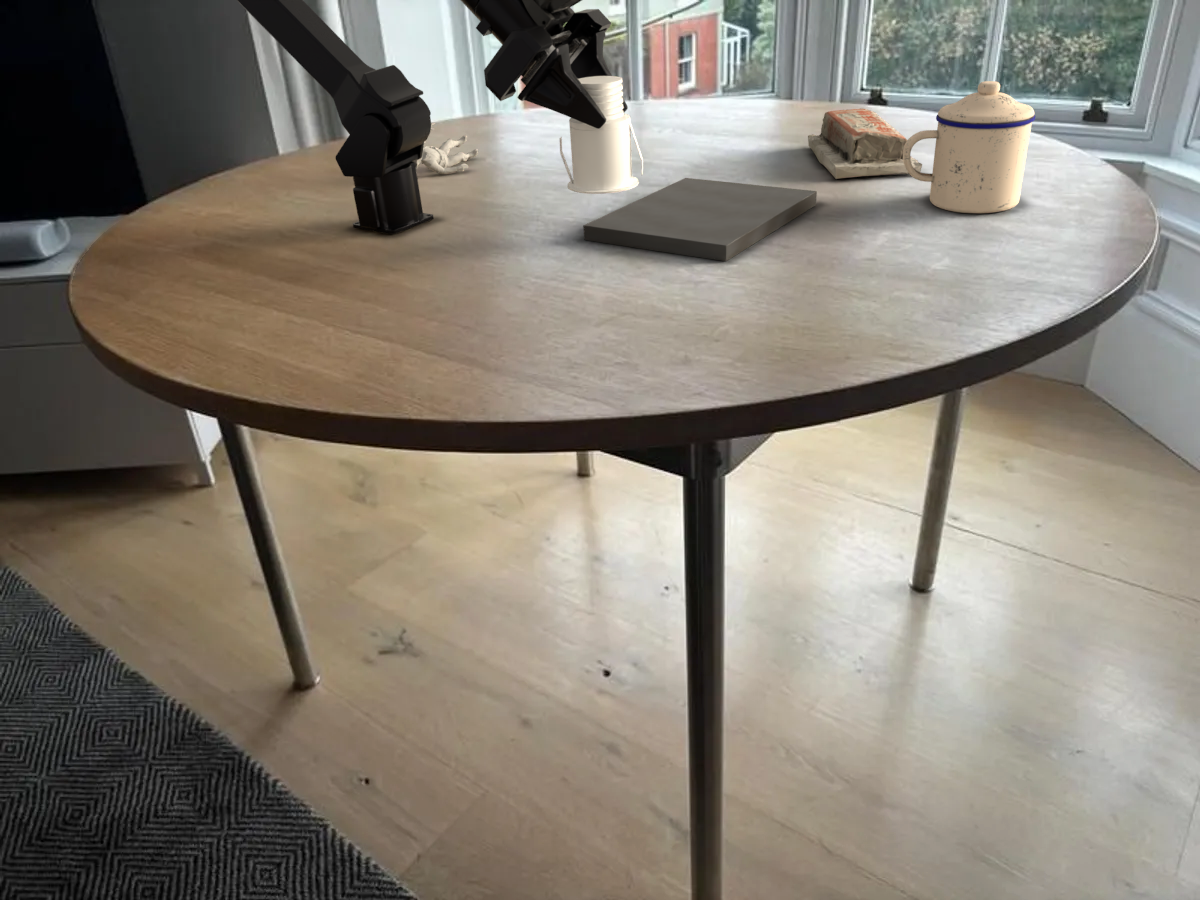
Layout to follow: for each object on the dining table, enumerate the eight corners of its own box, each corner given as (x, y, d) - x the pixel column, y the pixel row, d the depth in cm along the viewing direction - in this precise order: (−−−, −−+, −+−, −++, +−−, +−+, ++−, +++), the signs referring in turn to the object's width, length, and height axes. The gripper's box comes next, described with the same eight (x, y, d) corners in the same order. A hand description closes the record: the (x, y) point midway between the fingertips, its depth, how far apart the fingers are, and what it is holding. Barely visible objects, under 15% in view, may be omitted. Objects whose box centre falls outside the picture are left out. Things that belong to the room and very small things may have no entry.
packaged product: (807, 108, 119) (885, 103, 119) (805, 147, 122) (882, 142, 121) (836, 137, 104) (926, 131, 103) (834, 181, 106) (922, 176, 106)
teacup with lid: (1009, 189, 99) (1027, 72, 93) (1031, 214, 91) (1052, 88, 85) (892, 192, 101) (903, 78, 95) (904, 217, 93) (916, 94, 87)
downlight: (556, 197, 89) (548, 87, 84) (569, 179, 95) (562, 75, 90) (639, 196, 88) (635, 84, 83) (647, 177, 94) (644, 72, 89)
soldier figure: (493, 168, 127) (450, 159, 116) (469, 192, 129) (426, 186, 118) (458, 124, 128) (413, 112, 117) (435, 150, 130) (388, 140, 119)
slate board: (685, 190, 107) (685, 177, 106) (816, 205, 98) (817, 190, 98) (584, 240, 93) (582, 225, 92) (726, 261, 85) (726, 245, 84)
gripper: (502, -79, 74) (638, 69, 76) (586, -85, 89) (698, 39, 91) (429, 31, 80) (556, 164, 82) (519, 8, 95) (625, 122, 97)
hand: (613, 118), depth 88 cm, fingers closed on downlight, 6 cm apart
